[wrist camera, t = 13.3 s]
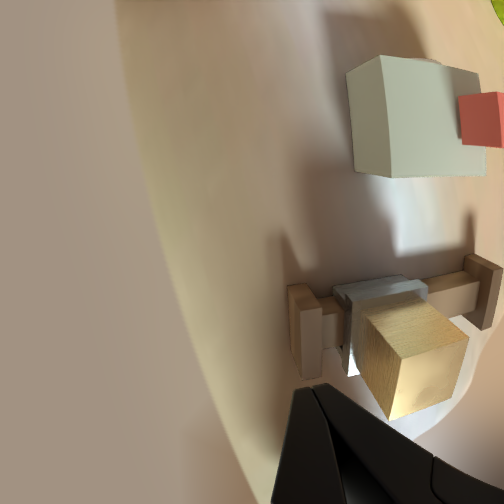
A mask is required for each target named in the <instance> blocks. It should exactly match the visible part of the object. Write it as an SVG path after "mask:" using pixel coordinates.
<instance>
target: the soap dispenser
mask: <svg viewBox="0 0 504 504" xmlns="http://www.w3.org/2000/svg"><path fill="white" fill-rule="evenodd" d="M491 1H492V4H493V7H494V9H495V11H496V13H497V15H498V17H499V19H500V20H501V22H502V23H503V25H504V0H491Z"/></svg>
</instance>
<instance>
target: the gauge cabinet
mask: <svg viewBox="0 0 504 504" xmlns="http://www.w3.org/2000/svg"><path fill="white" fill-rule="evenodd" d="M345 75H346V82H347V90H348V99H349V108H350V118H351V128H352V140H353V153H354V169H355V172H361V173H367V174H372V175H378V176H383V177H388V178H409V177H445V176H486V147H484V146H472V145H462V135H461V122H460V111H459V102H458V96H463V95H471V94H479V93H481V89H480V82H479V75H478V73H474V72H470V71H466V70H462V69H458V68H454V67H449V66H445V65H442V64H441V63H440V62H438V61H436V60H432V59H426V58H400V57H393V56H385V55H379V56H377V57H375V58H373V59H371V60H369V61H367V62H365V63H363V64H362V65H360V66H358V67H356V68H354V69H352V70H351V71H349V72H347V73H345Z"/></svg>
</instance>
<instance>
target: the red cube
mask: <svg viewBox="0 0 504 504" xmlns="http://www.w3.org/2000/svg"><path fill="white" fill-rule="evenodd" d="M458 102H459V111H460V122H461V135H462V145H472V146H484V147H495V148H504V93H500V92H489V93H479V94H471V95H463V96H458Z"/></svg>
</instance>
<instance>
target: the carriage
mask: <svg viewBox="0 0 504 504" xmlns="http://www.w3.org/2000/svg"><path fill="white" fill-rule="evenodd" d="M427 295H428V286H427V285H426V284H425V283H423V282H422V281H420V280H419V279H415V280H408V279H407V278H405V277H404V276H403V275H395V276H390V277H384V278H379V279H373V280H367V281H361V282H355V283H349V284H343V285H337V286H333V296H334V297H335V298H336V300H337V301H338V302H339V303H340V305H341V306H342V307H343V309H344V336H343V345H341V346H336V347H335V348H336V349H337V351H338V353H339V355H340V356H341V358H342V367H343V369H344V370H345V372H346V374H347V376H348V377H349V376H353V375H358V374H361V376H362V378H363V379H364V381H365V383H366V384H367V386H368V388H369V389H370V391H371V392H372V394H373V396H374V397H375V399H376V401H377V402H378V404H379V406H380V407H381V409H382V411H383V413H384V414H385V416H386V418H387V419H388V421H390V420H393V419H396V418H399V417H402V416H405V415H408V414H411V413H414V412H416V411H419V410H422V409H425V408H427V407H430V406H432V405H435V404H437V403H440V402H442V401H445V400H447V399H449V398H451V397H452V394H453V391H454V388H455V385H456V382H457V379H458V376H459V372H460V369H461V366H462V362H463V359H464V355H465V352H466V348H467V344H468V341H469V337H468V336H467V335H466V334H465V333H464V332H463V331H461V330H460V329H459V328H458V327H457V326H455V325H454V324H453V323H452V322H451V321H449V320H448V319H447V318H446V317H445V316H443V315H442V314H441V313H440V312H439V311H437V310H436V309H435V308H434V307H432V306H431V305H430V304H429V303H427Z"/></svg>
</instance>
